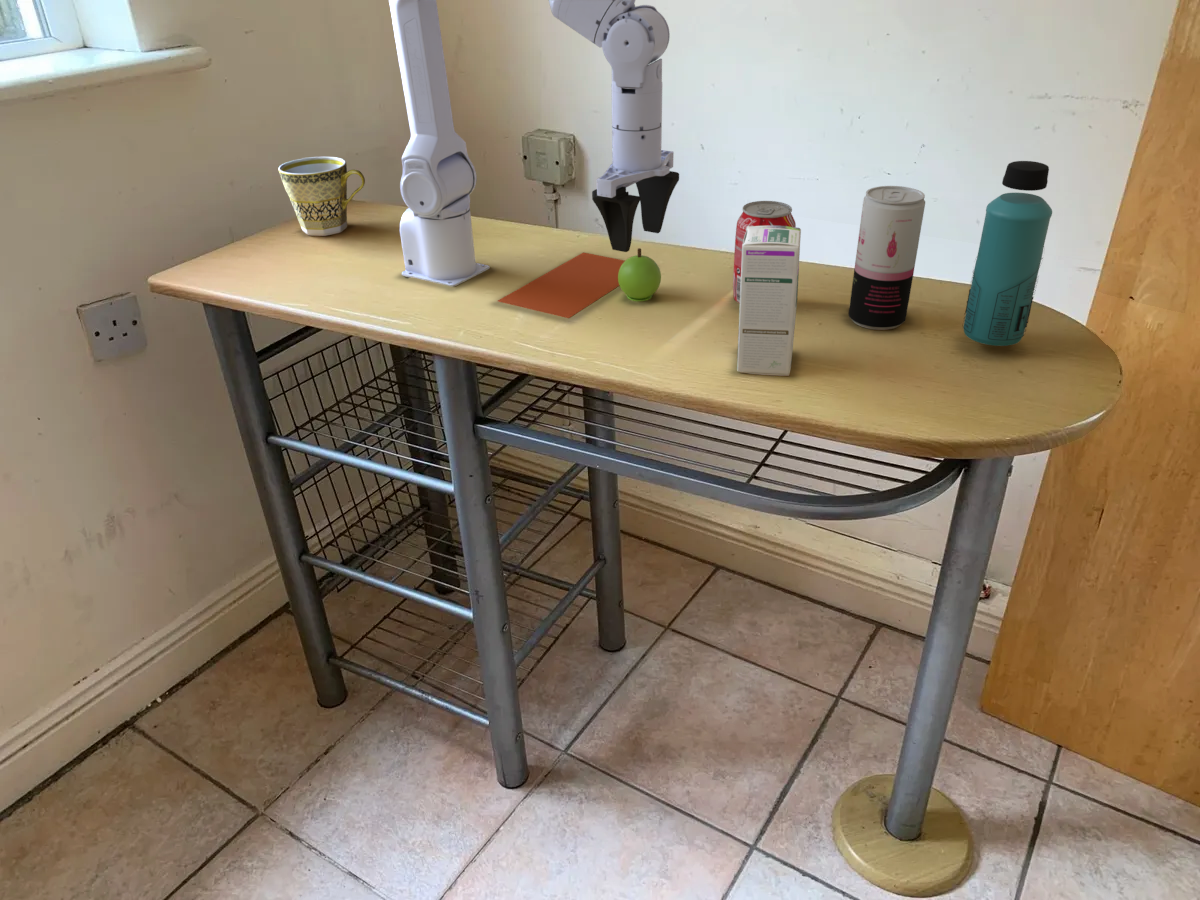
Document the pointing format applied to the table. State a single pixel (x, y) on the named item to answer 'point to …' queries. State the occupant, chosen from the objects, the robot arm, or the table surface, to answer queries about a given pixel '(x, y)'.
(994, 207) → the beverage bottle
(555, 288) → the cloth
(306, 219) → the ceramic cup
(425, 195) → the robot arm
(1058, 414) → the table surface
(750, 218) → the soda can
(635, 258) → the apple
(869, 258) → the beverage can
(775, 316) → the syrup box
